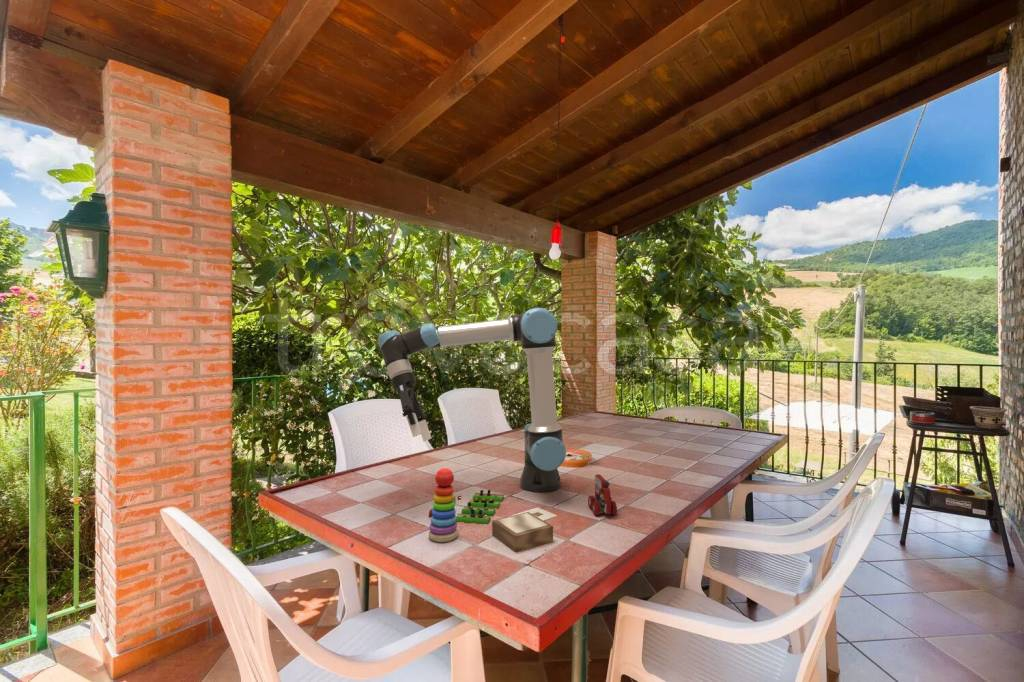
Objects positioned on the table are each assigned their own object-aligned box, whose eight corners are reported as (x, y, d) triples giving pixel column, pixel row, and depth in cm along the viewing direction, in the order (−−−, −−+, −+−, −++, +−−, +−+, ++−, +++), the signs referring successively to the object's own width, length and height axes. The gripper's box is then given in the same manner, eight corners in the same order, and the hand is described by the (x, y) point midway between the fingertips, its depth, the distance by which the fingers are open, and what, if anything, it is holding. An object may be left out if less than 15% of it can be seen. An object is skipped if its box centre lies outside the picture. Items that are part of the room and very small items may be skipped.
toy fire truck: (597, 519, 139) (597, 485, 139) (586, 505, 152) (586, 473, 152) (619, 518, 140) (619, 484, 140) (607, 504, 152) (607, 472, 152)
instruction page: (537, 507, 149) (537, 506, 149) (557, 516, 142) (557, 515, 142) (508, 517, 141) (508, 516, 141) (527, 526, 134) (527, 525, 134)
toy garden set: (488, 526, 136) (488, 511, 136) (426, 522, 139) (426, 506, 139) (504, 499, 158) (504, 486, 158) (450, 496, 162) (450, 483, 162)
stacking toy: (452, 544, 123) (452, 473, 122) (424, 542, 124) (423, 472, 124) (461, 532, 130) (461, 465, 130) (434, 530, 132) (434, 464, 132)
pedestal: (528, 525, 135) (528, 511, 135) (553, 541, 125) (553, 525, 124) (492, 535, 128) (492, 519, 128) (515, 552, 118) (515, 535, 118)
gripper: (401, 388, 162) (420, 445, 156) (378, 371, 138) (400, 438, 132) (421, 380, 163) (441, 437, 156) (402, 361, 139) (425, 427, 132)
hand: (422, 437), depth 144 cm, fingers open, 13 cm apart
